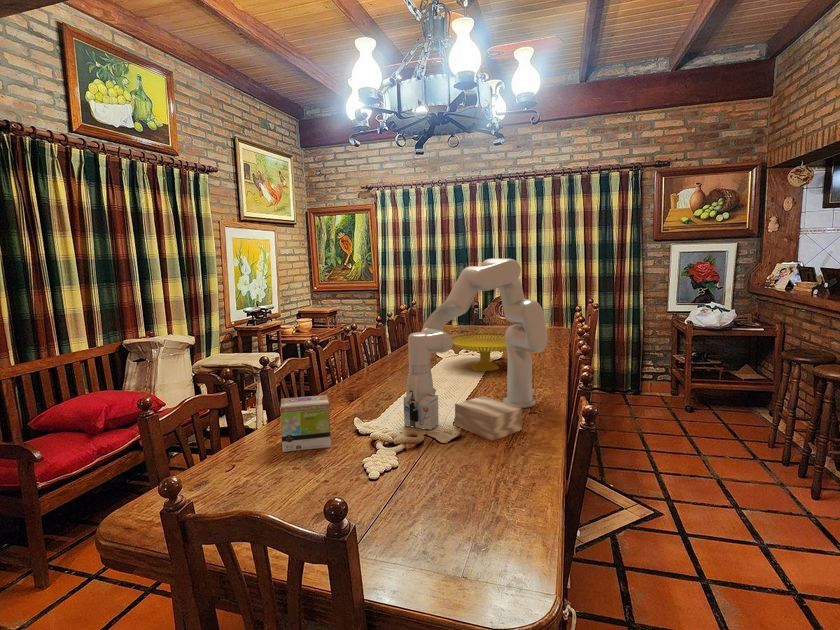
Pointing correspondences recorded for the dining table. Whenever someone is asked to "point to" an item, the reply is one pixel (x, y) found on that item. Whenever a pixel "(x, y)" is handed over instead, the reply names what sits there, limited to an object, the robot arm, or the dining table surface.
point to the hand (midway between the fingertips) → (421, 417)
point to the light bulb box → (424, 413)
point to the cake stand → (482, 348)
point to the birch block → (488, 417)
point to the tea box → (305, 423)
